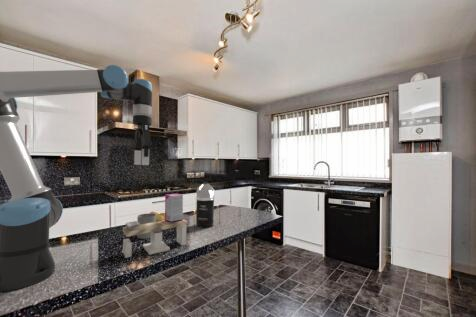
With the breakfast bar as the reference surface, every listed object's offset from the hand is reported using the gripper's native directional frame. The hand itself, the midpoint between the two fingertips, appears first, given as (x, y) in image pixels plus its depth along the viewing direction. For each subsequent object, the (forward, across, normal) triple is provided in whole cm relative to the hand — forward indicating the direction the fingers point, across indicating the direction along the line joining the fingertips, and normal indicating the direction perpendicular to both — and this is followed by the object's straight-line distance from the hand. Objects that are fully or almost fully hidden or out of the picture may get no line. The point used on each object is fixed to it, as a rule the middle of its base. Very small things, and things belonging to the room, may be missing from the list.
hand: (141, 164), depth 95 cm
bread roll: (+35, +26, -18) cm, 47 cm away
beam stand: (+35, -7, -5) cm, 36 cm away
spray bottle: (+35, +12, -38) cm, 53 cm away
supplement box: (+24, -7, -12) cm, 28 cm away
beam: (+27, -7, -5) cm, 28 cm away
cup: (+35, +12, -6) cm, 37 cm away
